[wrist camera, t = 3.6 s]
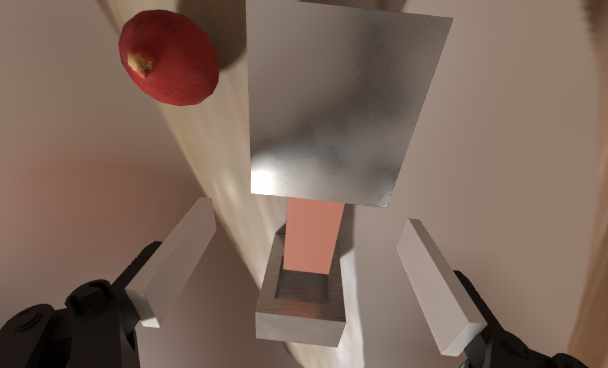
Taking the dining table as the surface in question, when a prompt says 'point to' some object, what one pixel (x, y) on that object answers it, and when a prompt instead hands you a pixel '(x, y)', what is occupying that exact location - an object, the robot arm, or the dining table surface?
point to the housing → (335, 96)
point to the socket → (300, 302)
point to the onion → (169, 57)
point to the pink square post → (311, 234)
